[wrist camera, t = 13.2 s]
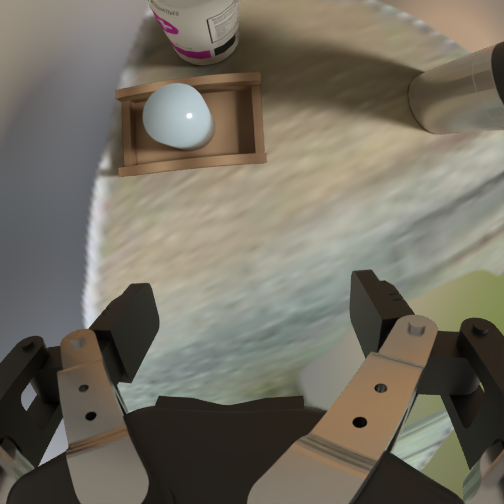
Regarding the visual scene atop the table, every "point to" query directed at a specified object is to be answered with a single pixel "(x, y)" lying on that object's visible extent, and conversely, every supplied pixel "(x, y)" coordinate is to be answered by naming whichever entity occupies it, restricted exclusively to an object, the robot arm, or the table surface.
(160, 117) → the domed pale cylinder
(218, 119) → the wooden serving tray
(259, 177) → the table surface
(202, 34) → the supplement can
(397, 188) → the table surface
